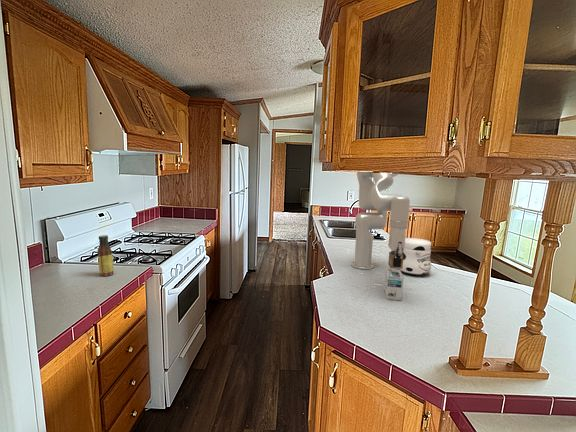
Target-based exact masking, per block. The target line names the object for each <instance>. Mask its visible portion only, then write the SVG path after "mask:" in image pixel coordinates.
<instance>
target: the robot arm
mask: <svg viewBox="0 0 576 432" xmlns="http://www.w3.org/2000/svg"><path fill="white" fill-rule="evenodd" d="M398 175H399V173H398V174H388V173H372V172H357V171H356V176H357V180H358V181H357V182H358V186H359V188H358V206H359V209H360V210H362V211H366V212H359V213H357V214H356V215H355V218H354V219H355V222H354V223H355V246H354V248H355V250H354V261H353V262H351V266H352V267H353V268H355V269H360V270H372V269H373V268H374V267H375V265H374V264H373V263H372V260H373V259H372V257H373V255H372V254H373V245H374V244H373V241H374V237H373V234H372V233H371V231H370V230H384V229H385V228H387V227H386V226H387V224H388V212H390V214H389V228H390V230H389V235H388V236H389V237H388V248H389V249H390V252H395V258H394V260H393V266H394V267H401V259H402V252H403V251H404V247H405V238H406V230H408V228H409V227H408V226H409V216H410V215H409V214H410V204H411V203H410V202H411V200H410V198H409V197H408V196H406V195H405V196H404V195H403V194H398V193H397V194H396V193H395V194H393V193H391V194H390V193H389V194H388V193H381V192H382V191H385V190H387V189H389V188H391V186H392V185H393V184H394V178H395V177H396V176H398ZM373 180H374V181H373ZM367 211H370V212H367ZM371 211H377V212H371ZM396 252H398V253H397V255H396Z"/></svg>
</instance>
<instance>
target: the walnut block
mask: <svg viewBox="0 0 576 432" xmlns="http://www.w3.org/2000/svg"><path fill="white" fill-rule="evenodd" d="M397 253H398V252H396V255H397ZM403 256H404V255H403V254H402V259H401V267H394V266H393V260H394V258H395V252H391V251H388V267H389V269H398V268H399V269H402V268H403ZM399 269H398V270H399Z"/></svg>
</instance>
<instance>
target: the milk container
mask: <svg viewBox="0 0 576 432" xmlns="http://www.w3.org/2000/svg"><path fill="white" fill-rule="evenodd" d="M431 251H432V242H431V241H430V240H428V239H423V238H417V237H416V238H415V237H405V247H404V251H403V252H402V254H403V255H404V256H403V268H402V269H399V268H397V270H401V273H404V274H408V275H413V276H425V275H426V276H427V274H429V273H430V272H431V269H432V262H431V254H432V253H431Z"/></svg>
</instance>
